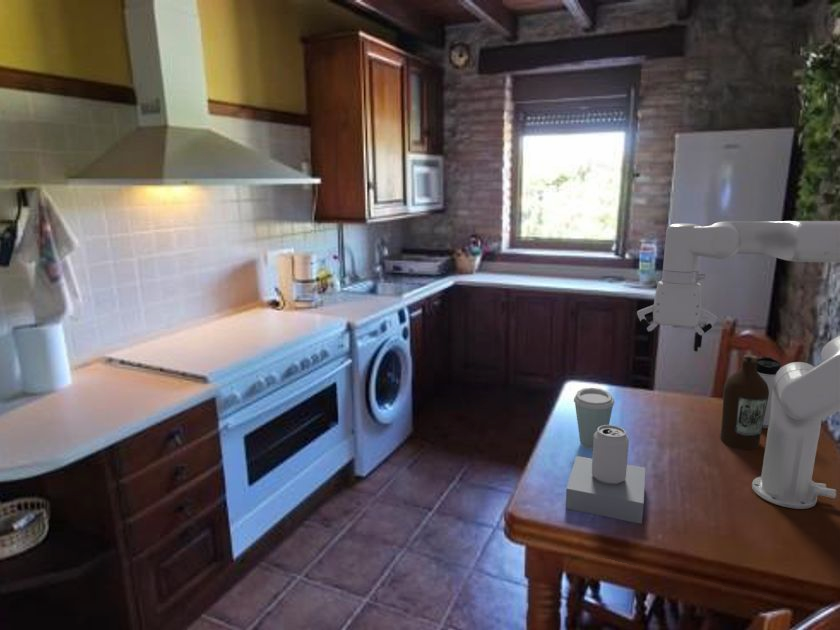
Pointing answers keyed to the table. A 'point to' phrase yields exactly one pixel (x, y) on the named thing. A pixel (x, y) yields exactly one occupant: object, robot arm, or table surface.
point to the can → (610, 454)
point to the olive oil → (744, 406)
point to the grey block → (606, 493)
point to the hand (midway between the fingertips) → (673, 347)
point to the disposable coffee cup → (592, 412)
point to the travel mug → (767, 381)
